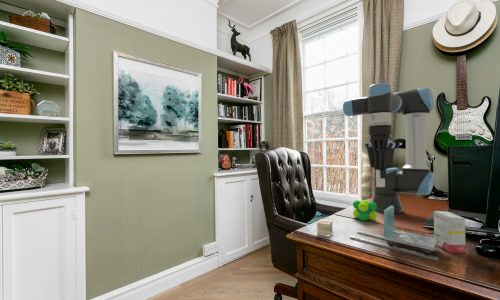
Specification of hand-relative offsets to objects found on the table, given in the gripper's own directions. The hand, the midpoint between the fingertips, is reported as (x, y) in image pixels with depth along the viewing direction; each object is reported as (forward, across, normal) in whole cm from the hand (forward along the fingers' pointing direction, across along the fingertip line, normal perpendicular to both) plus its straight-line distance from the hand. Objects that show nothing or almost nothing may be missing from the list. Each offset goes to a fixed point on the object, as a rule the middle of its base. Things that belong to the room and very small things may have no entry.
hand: (380, 186), depth 90 cm
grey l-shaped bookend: (+20, +10, +2) cm, 23 cm away
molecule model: (+21, -23, +13) cm, 33 cm away
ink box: (+21, +14, +16) cm, 29 cm away
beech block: (+20, -12, -17) cm, 29 cm away
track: (+20, +5, 0) cm, 21 cm away
